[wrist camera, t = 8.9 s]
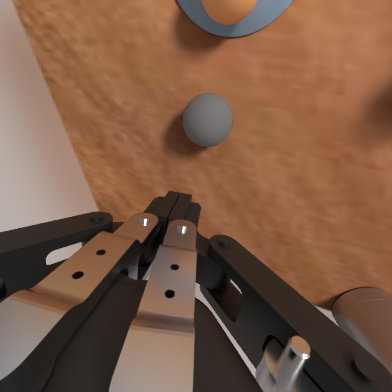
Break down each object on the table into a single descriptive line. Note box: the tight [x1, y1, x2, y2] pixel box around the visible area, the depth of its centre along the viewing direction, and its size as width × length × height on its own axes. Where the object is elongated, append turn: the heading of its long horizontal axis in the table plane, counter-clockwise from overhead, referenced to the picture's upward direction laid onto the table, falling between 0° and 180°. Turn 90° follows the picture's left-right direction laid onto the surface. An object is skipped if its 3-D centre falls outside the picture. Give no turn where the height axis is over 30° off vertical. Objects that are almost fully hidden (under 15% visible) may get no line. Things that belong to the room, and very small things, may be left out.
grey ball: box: [183, 93, 233, 147], centre depth 22 cm, size 6×6×6 cm
